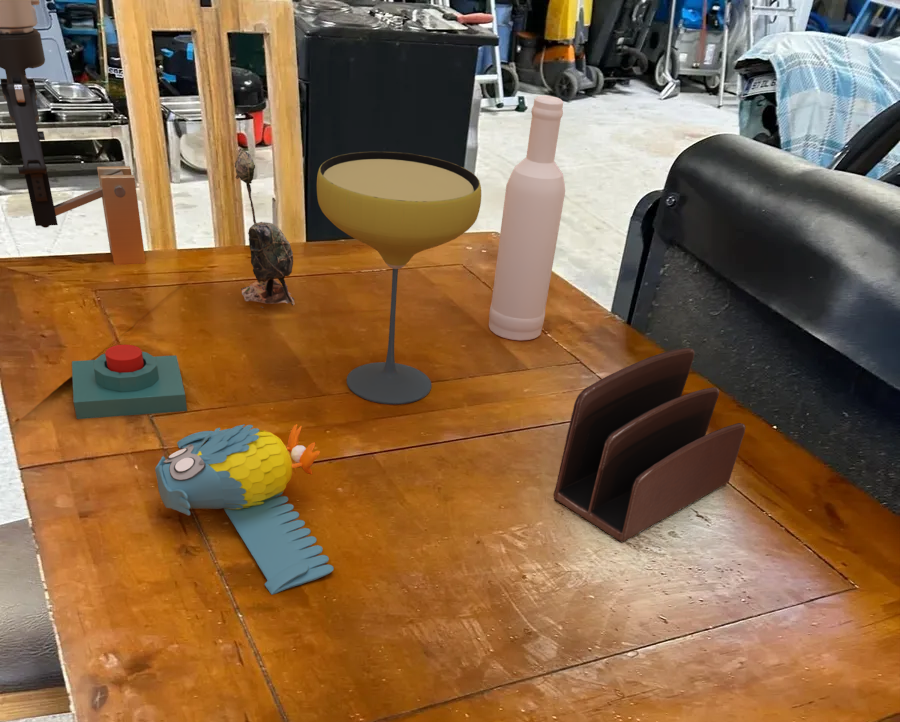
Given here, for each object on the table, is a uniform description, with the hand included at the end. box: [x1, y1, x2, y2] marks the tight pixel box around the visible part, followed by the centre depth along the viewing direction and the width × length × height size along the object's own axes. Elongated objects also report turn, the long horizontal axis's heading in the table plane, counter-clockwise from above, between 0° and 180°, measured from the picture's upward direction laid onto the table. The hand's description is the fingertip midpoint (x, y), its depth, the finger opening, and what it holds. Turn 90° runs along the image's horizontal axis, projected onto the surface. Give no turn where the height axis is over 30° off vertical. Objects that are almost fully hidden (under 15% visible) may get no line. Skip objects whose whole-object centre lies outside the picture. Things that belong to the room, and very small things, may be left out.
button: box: [104, 344, 144, 373], centre depth 102 cm, size 4×4×2 cm
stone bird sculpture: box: [234, 150, 296, 309], centre depth 121 cm, size 8×11×20 cm
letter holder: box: [553, 347, 746, 543], centre depth 95 cm, size 10×20×14 cm, turn 132°
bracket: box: [96, 165, 146, 266], centre depth 127 cm, size 12×9×14 cm
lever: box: [41, 171, 124, 229], centre depth 123 cm, size 13×6×2 cm, turn 112°
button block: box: [71, 351, 188, 420], centre depth 103 cm, size 12×10×4 cm
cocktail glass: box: [316, 151, 482, 405], centre depth 105 cm, size 18×18×25 cm
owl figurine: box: [154, 423, 335, 595], centre depth 87 cm, size 28×9×15 cm
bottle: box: [488, 94, 566, 342], centre depth 119 cm, size 8×8×30 cm
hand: (43, 208), depth 122 cm, fingers open, 13 cm apart
